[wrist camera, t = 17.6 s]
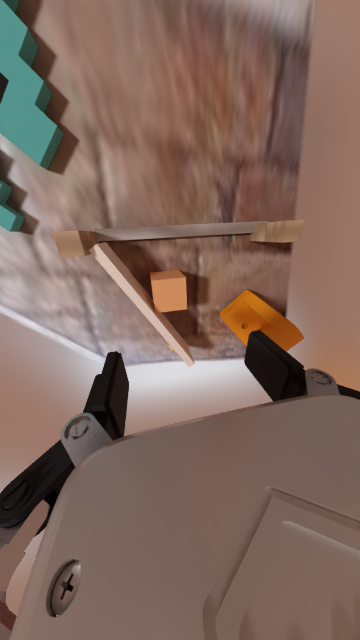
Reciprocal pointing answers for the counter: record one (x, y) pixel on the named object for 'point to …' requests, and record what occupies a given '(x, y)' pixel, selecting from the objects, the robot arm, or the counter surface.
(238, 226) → the gate frame
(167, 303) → the block
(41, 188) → the counter surface
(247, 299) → the bracket
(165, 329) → the gate door
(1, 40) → the alien figure
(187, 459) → the robot arm
